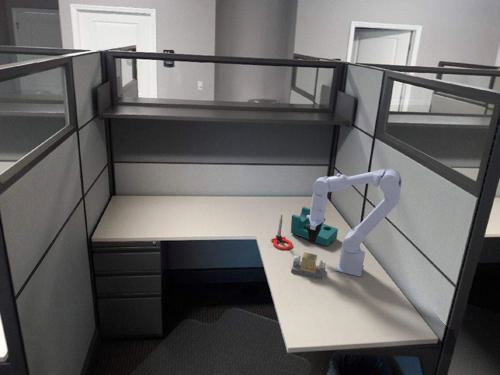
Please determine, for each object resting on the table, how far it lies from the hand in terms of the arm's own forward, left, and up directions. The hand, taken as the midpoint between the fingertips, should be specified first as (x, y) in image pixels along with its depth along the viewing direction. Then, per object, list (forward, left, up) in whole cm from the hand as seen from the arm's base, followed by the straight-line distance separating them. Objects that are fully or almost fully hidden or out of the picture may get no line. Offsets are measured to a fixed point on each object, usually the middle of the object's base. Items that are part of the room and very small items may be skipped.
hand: (313, 238), depth 164 cm
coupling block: (-1, +10, -8) cm, 13 cm away
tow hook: (+14, -6, -10) cm, 18 cm away
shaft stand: (-1, +10, -9) cm, 14 cm away
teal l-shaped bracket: (+3, -20, -10) cm, 22 cm away
